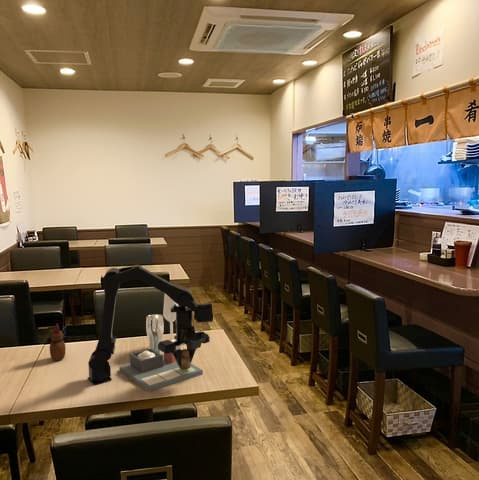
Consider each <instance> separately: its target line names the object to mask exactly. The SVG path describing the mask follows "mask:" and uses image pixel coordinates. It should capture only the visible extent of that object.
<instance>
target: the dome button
mask: <svg viewBox="0 0 479 480" xmlns="http://www.w3.org/2000/svg"><path fill="white" fill-rule="evenodd" d="M151 357H155V354H154V353H152V352H149V351H144V352H142V353H140V354H138V358H140V359H141V360H144V359H148V358H151Z"/></svg>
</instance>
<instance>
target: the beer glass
mask: <svg viewBox="0 0 479 480" xmlns="http://www.w3.org/2000/svg"><path fill="white" fill-rule="evenodd" d="M145 323H146V324H145V326H146V327H145V328H146V329H145V330H146V335H147V341H148V349H150V348H152V349H153V350H155V351H157V352H158V353H160V354H162V355H163V354H164V352H162V351H160V350H159V349H158V343H159V342H161V341H163V337H164V329H165V327H164V316H163V314H157V313H156V314H148V315H147V316H146V321H145Z"/></svg>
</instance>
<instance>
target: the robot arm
mask: <svg viewBox="0 0 479 480" xmlns="http://www.w3.org/2000/svg"><path fill="white" fill-rule="evenodd" d="M102 279H103V280H102V282H103V292H104V304H103V311H102V319H101V327H100V335H99V338H98V342H97V344H96V347H95V350H94V351H93V352H92V353H91V355H90V358H89V360H88V362H87V365H88V377H86V378H87V380H88V381H89V382H90V383H91V384H92V385H95V386H96V385H100V384H103V383H107V382H109V381H112V377H111V376H112V375H111V374H112V372H111V371H112V370H111V369H112V367H111V365H110V361H109V360H111V358H112V356H113V355H115V351H116V341H117V337H116V336H114V337H113V325H114V319H115V318H114V317H115V309H116V304H117V303H116V301H117V295H118V292H119V289H120V285H121V284H124V283H126V282H130V281H132V280H134V279H138V280H140V281H141V282H143V283H146V284H147V285H149V286H151V287H153V288H154V289H157V291H160V292H162V293H163V294H164V295H165V294H166V295H168V296H169V297H170V298H171V299H172V300H173V301H174V302H175V303H177V304H178V306H177V305H176V304H174V306H173V307H172V308H171V312H176V320H175V324H173V329H175V335H173V340H175V341H174V342H172V341H170V339H165V340H164V339H163V340H162V341H161V342H159V343H158V349H159V350H160V351H162V352H163V354H164V353H166V354H168V353H172V354H173V355H174V357H175V359H176V362H177V364H178V366H181V352H182V350H183V349H181V346H185V345H186V349H187V350H188V351H189V355H190V363H191V364H192V361H193V358H194V355H195V353H196V351H197V349H199V348H201V347H202V344H207V343H210V341H211V340H210V339H211V337H210V335H209V334H208V333H206V332H205V331H201V330H200V331H197V332H196V331H195V329H196V328H195V326H194V325H193V320H194V321H195V322H196V323H198V324H199V323H201V324H202V323H213V322H214V313H213V304H212V302H206V303H197V301H196V300H195V299H194V298H193V296H192V292H191V290H190V289H189V288H188V287H186V286H183V285H180V284H176V283H173V282H169V281H168V280H167V279H165V278H162V277H161V276H159V275H157V274H155V273H154V272H152V271H150V270H148V269H146V268H144V267H143V266H142V265H141V264H134V265H132V266H125V267H120V268H117V267H111V268H109V269H108V270H106V272H105V274H104V276H103V278H102Z"/></svg>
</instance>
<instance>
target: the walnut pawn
mask: <svg viewBox="0 0 479 480" xmlns="http://www.w3.org/2000/svg"><path fill="white" fill-rule="evenodd" d="M181 350H182V352H181V366H179V368H180V369H189V368H190V355H189V351H188V350H187V348H182V349H181Z"/></svg>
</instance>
